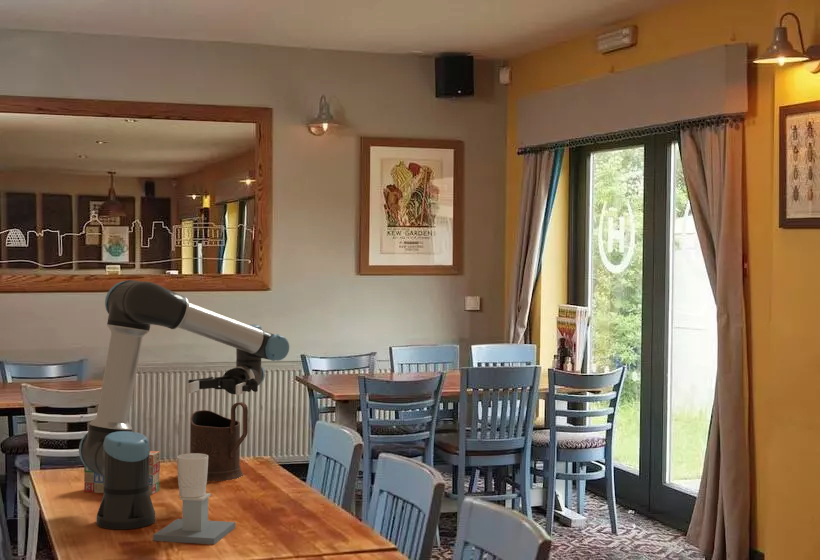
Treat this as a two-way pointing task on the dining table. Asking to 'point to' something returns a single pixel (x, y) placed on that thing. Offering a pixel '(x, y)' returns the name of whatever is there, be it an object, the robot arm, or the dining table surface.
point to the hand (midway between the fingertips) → (213, 389)
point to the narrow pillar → (194, 524)
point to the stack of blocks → (96, 481)
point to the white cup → (192, 474)
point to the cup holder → (219, 442)
